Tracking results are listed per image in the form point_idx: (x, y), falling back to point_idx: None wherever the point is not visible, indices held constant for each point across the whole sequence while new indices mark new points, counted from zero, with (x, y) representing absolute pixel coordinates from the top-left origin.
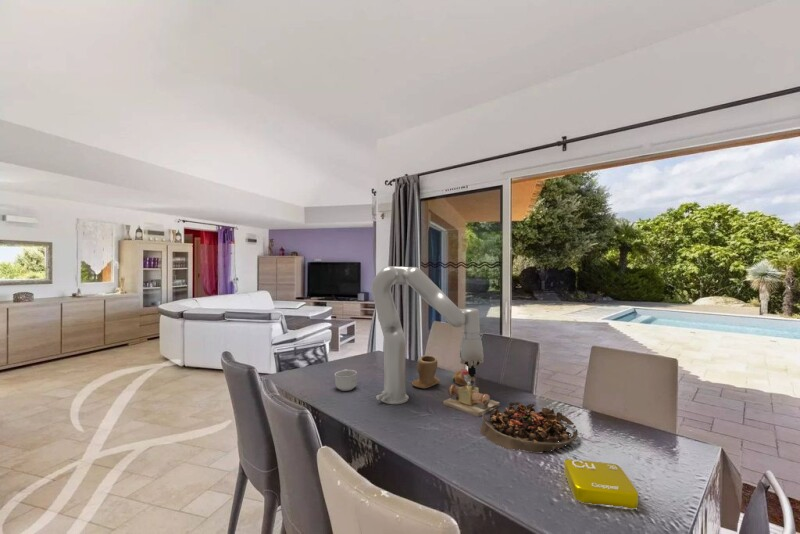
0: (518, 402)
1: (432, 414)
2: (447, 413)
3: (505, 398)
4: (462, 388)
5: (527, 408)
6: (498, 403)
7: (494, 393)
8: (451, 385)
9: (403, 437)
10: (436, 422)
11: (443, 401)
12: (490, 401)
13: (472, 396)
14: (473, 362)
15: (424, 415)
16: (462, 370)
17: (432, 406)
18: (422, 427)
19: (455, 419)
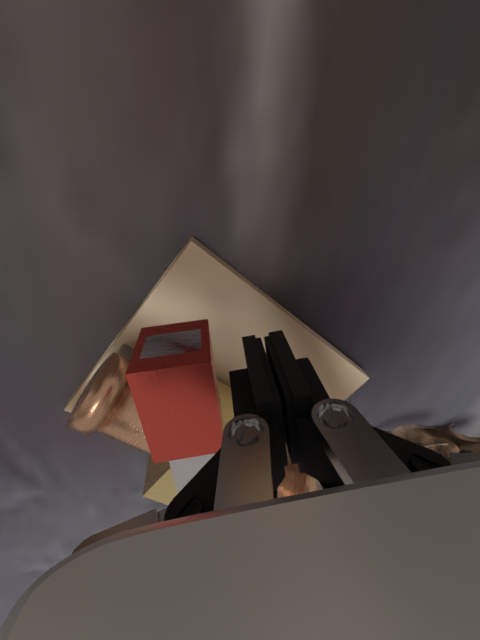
0: (442, 445)
1: (47, 492)
2: (112, 473)
3: (438, 259)
4: (169, 499)
5: (454, 444)
6: (360, 382)
7: (410, 168)
8: (77, 427)
9: (6, 613)
10: (83, 536)
11: (65, 409)
12: (328, 373)
13: None
14: (348, 474)
15: (15, 505)
16: (150, 415)
17: (18, 425)
18: (43, 568)
19: (151, 507)
